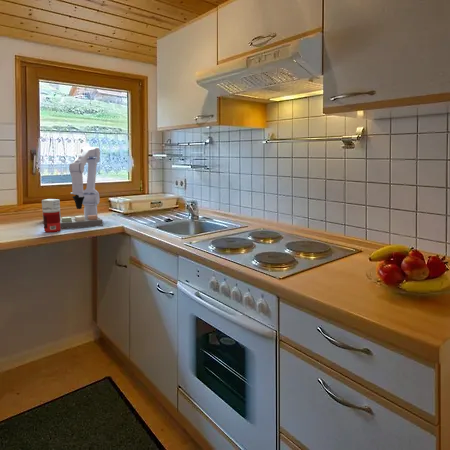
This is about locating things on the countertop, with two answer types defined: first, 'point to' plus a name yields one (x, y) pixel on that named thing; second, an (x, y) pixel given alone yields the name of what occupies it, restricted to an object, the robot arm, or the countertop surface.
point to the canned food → (51, 221)
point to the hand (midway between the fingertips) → (79, 208)
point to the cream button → (79, 218)
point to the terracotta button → (92, 217)
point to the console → (81, 223)
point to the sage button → (66, 219)
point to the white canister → (51, 205)
